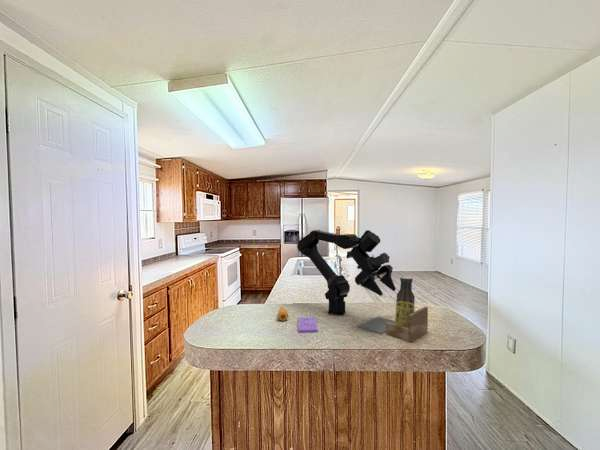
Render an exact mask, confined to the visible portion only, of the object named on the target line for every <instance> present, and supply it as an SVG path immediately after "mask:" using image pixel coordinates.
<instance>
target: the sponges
mask: <svg viewBox="0 0 600 450" xmlns="http://www.w3.org/2000/svg"><path fill="white" fill-rule="evenodd" d="M297 322H298V323H297V325H298V326H297V327H298V330H297V332H298V333H299V332H300V333H299V334H308V333H311V334H312V333H314V334H316V333H319V328H318V325H317V319H316V316H309V317H308V316H305V317H297Z"/></svg>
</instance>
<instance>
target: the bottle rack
mask: <svg viewBox="0 0 600 450" xmlns="http://www.w3.org/2000/svg"><path fill="white" fill-rule="evenodd" d="M428 312H429V307H428V306H422V307H421V308H420V309H418V310H414V312H413V313H411V314H409V323H408V328H407V327H403V326H399V325H396V324H392V323H389V322H387V323H386V332H385V334H386V335H388V336H391V337H395V338H398V339H401V340H403V341H407V342H408V343H413V342H415V341H416V340H418V339H419V338H420V337H422V336H424V335H425V334H427V333H428V327H429V326H428V323H429V322H428V321H429V319H428V318H429V317H428V315H429V313H428Z"/></svg>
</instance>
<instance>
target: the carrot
mask: <svg viewBox="0 0 600 450" xmlns="http://www.w3.org/2000/svg"><path fill="white" fill-rule="evenodd" d="M288 318H289V312H288V311H287V310H286V308H285V307H284V306H280V308H279V310H278V311H277V319H278V320H279V321H280V320H281V322H285V321H286V320H288Z"/></svg>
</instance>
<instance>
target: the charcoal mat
mask: <svg viewBox="0 0 600 450" xmlns="http://www.w3.org/2000/svg"><path fill="white" fill-rule="evenodd" d="M387 322H389V323H392V324H395V320H391V319H388V318H385V317H381V316H377V317H374V318H372V319H370V320H368V321H365V322H363V323H360V324H358V325H357V328H361V329H364V330H367V331H370V332H372V333H373V332H374V333H377V334H379V335H383V334H386V323H387Z"/></svg>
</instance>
